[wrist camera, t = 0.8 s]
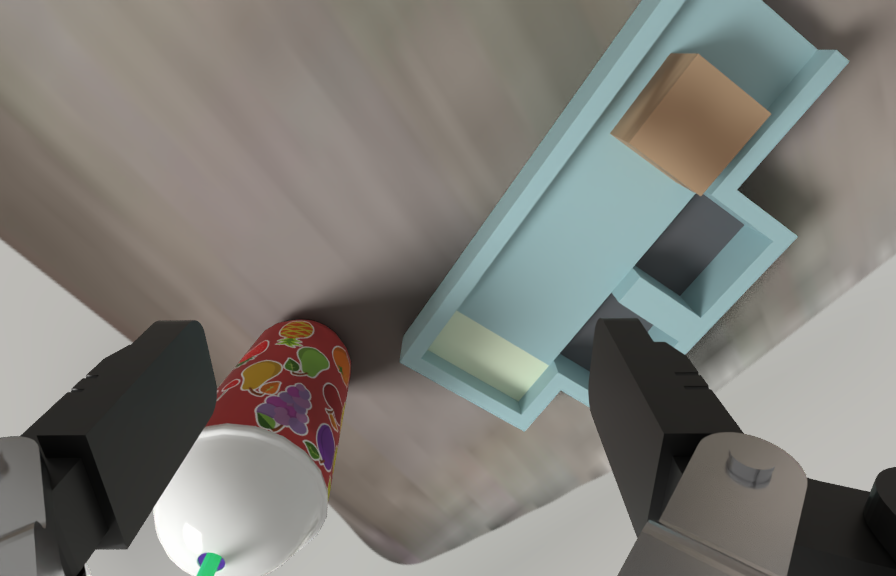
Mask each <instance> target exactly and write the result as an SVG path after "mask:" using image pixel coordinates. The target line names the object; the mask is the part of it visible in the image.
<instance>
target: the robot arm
mask: <svg viewBox="0 0 896 576" xmlns="http://www.w3.org/2000/svg"><path fill="white" fill-rule="evenodd" d="M588 396H589V406H590V411H591V414H592V417H593V420H594V423H595V425H596V428H597V431H598V433H599V436H600V439H601V441H602V444H603V447H604V450H605V452H606V455H607V458H608V460H609V463H610V466H611V468H612V471H613V474H614V476H615V479H616V482H617V484H618V487H619V490H620V492H621V495H622V498H623V501H624V503H625V506H626V508H627V511H628V514H629V517H630V519H631V522H632V525H633V527H634V530H635V533H636V535H637V538H638V539H637V541H636V542H635V544H634V546H633V548H632V550H631V552H630V553H629V555H628V557H627V559H626V561H625V563H624V565H623V567H622V568H621V570H620V572H619V574H618V576H896V467H893V468H888V469H886V470H883V471H882V472H880V473H879V474H878V476H877V478H876V479H875V482H874V484H873V487H872V489H871V492H868V491H862V490H858V489H853V488H849V487H844V486H840V485H835V484H830V483H826V482H821V481H817V480H813V479H809V478H807V477H806V474H805V472H804V470H803V468H802V467H801V466H800V464H799V463H798V462H797V461H796V460H795V459H794V458H793V457H792V456H791V455H789V454H788V453H787V452H786V451H784V450H783V449H781V448H779V447H778V446H776V445H774V444H772V443H770V442H768V441H766V440H763V439H761V438H758V437H755V436H751V435H747V434H744V433H743V432H742V430H740V428H739V426H738V425H737V424H736V422H735V421H734V420H733V418H732V417H731V416H730V414H729V413H728V411H727V410H726V409H725V407H724V406H723V405H722V403H721V402H720V401H719V399H718V398H717V397H716V395H715V394H714V393H713V391H712V390H711V389H709V388H708V384H707V383H706V382H705V380H704V379H703V378H702V376H701V375H698V371H697V370H696V368H695V367H694V366H693V364H692V363H691V361H690V360H689V359H688V357H687V356H686V355H684V354H683V353H681V352H680V351H678V350H677V349H675V348H674V347H672V346H671V345H669V344H668V343H666V342H654V341H653V340H652V338H651V337H650V335H649V334H648V332H647V331H646V329H645V328H644V326H643V325H642V323H641V322H640V320H639V319H638V318H599V319H598V320H597V322H596V326H595V331H594V340H593V349H592V358H591V366H590V375H589V385H588ZM216 400H217V386H216V381H215V377H214V372H213V368H212V363H211V359H210V355H209V350H208V346H207V341H206V337H205V333H204V329H203V327H202V325H201V324H200V323H199V322H198V321H195V320H180V321H156V322H155V323H153V324H152V325H151V326H150V327H149V328H148V329H147V330H146V331H145V332H144V333H143V334H142V335H141V336H140V337H139V338H138V339H137V340H136V341H134V342H133V343H132V344H131V345H128V346H127V347H125V348H123V349H121V350H119V351H117V352H116V353H114V354H112V355H110V356H108V357H106V358H105V359H103V360H102V361H101V362H100V363H99V364H98V365H97V366H96V367H95V368H94V369H92V370H91V371H90V372H89V373H88V374H87V375H86V378H83V379H82V380H81V381H79V382H78V383H77V384H76V385H75V386H74V387H73V388H72V391H71V392H68V393H66V394H65V395H64V396H63V397H62V398H61V399H60V400H59V401H58V402H57V403H56V404H54V405H53V406H52V407H51V408H50V409H49V410H48V411H47V412H46V413H45V414H44V415H43V416H41V417H40V418H39V419H38V420H37V421H36V422H35V423H34V424H33V425H32V426H31V427H29V428H28V429H27V430H26V431H25V432H24V433H23V434H22V435H21V436H10V437H2V438H0V576H92V575H91V572H90V569H89V567H88V564H87V560H88V559H89V558H90V556H91V554H92V553H93V552H94V551H95V549H128V547H129V546H130V544H131V542H132V541H133V539H134V538H135V536H136V535H137V533H138V531H139V530H140V528H141V527H142V525H143V524H144V522H145V521H146V519H147V517H148V516H149V514H150V513H151V511H152V510H153V508H154V506H155V505H156V503H157V502H158V500H159V498H160V497H161V495H162V494H163V492H164V491H165V489H166V487H167V486H168V484H169V483H170V481H171V480H172V478H173V476H174V475H175V473H176V472H177V470H178V469H179V467H180V465H181V464H182V462H183V461H184V459H185V458H186V456H187V454H188V453H189V451H190V450H191V448H192V446H193V445H194V443H195V442H196V440H197V439H198V437H199V435H200V434H201V432H202V431H203V429H204V428H205V426H206V424H207V423H208V421H209V420H210V418H211V416H212V415H213V412H214V409H215V406H216Z"/></svg>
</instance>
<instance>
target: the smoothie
mask: <svg viewBox="0 0 896 576" xmlns="http://www.w3.org/2000/svg"><path fill="white" fill-rule="evenodd" d="M350 375H351V360H350V357H349V354H348V351H347V348H346V347H345V346H344V344H343V343H342V341H341V340H340V338H339V337H338V336H337V334H336V333H335V332H334V331H332V330H331V329H330V328H328V327H327V326H325V325H324V324H321V323H318V322H316V321H313V320H303V319H298V320H291V321H286V322H281V323H277V324H275V325H274V326H272V327H270V328H268V329H267V330H265V331H264V332H263V333H262V335H261V336H260V337H259V338H258V339H257V340H256V342H255V343H254V344H253V345H252V347H251V348H250V349H249V350H248V352H247V353H246V354H245V355H244V357H243V358H242V359H241V360H240V361H239V363H238V364H237V365H236V366H235V368H234V369H233V370H232V371H231V373H230V374H229V375H228V376H227V377H226V379H225V380H224V381H223V382H222V384H221V385H220V386H219V387H218V389H217V400H216V406H215V409H214V412H213V415H212V416H211V418H210V420H209V421H208V423H207V424H206V426H205V428H204V429H203V431H202V432H201V434H200V435H199V437H198V439H197V440H196V442H195V443H194V445H193V446H192V448H191V450H190V451H189V453H188V454H187V456H186V458H185V459H184V461H183V462H182V464H181V465H180V467H179V469H178V470H177V472H176V473H175V475H174V476H173V478H172V480H171V481H170V483H169V484H168V486H167V487H166V489H165V491H164V492H163V494H162V495H161V497H160V498H159V500H158V502H157V503H156V505H155V506H154V508H153V514H154V522H155V528H156V533H157V537H158V539H159V540H160V542H161V544H162V546H163V548H164V550H165V552H166V553H167V555H168V557H169V558H170V559H171V560H172V561H173V562H174V563H175V564H176V565H177V566H178V567H179V568H180V569H182V570H183V571H185V572H186V573H188V574H190V575H191V576H264V575H266V574H268V573H271V572H272V571H274V570H276V569H277V568H279V567H280V566H282V565H283V564H284V563H285V562H286V561H287V560H288V559H289V558H291V557H292V556H293V555H294V554H295V553H296V552H297V551H299V550H301V549H302V548H303V547H304V546H305V545H306V544H307V543H309V542H310V541H311V540H312V539H313V538H314V537H316V536H317V535H318V533H319V531H320V529H321V527H322V525H323V523H324V521H325V519H326V517H327V505H328V499H329V494H330V488H331V482H332V477H333V471H334V465H335V460H336V454H337V448H338V443H339V437H340V431H341V426H342V420H343V414H344V409H345V403H346V397H347V392H348V386H349V380H350Z"/></svg>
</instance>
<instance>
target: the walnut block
mask: <svg viewBox="0 0 896 576" xmlns="http://www.w3.org/2000/svg"><path fill="white" fill-rule="evenodd" d="M770 115H771V113H770V112H769V111H768V110H766V109H765V108H764V107H763V106H762V105H760V104H759V103H758V102H757V101H755V100H754V99H753V98H752V97H751V96H749V95H748V94H747V93H746V92H745V91H743V90H742V89H741V88H740V87H738V86H737V85H736V84H735V83H734V82H732V81H731V80H730V79H729V78H727V77H726V76H725V75H724V74H723V73H721V72H720V71H719V70H718V69H717V68H715V67H714V66H713V65H712V64H710V63H709V62H708V61H707V60H706V59H704V58H703V57H702V56H701V55H699V54H698V53H670V54H669V56H668V57H667V58H666V60H665V61H664V62H663V64H662V65H661V66H660V68H659V69H658V70H657V72H656V73H655V74H654V76H653V77H652V78H651V80H650V81H649V82H648V83H647V85H646V86H645V87H644V89H643V90H642V91H641V93H640V94H639V95H638V97H637V98H636V99H635V101H634V102H633V103H632V105H631V106H630V107H629V109H628V110H627V111H626V113H625V114H624V115H623V117H622V118H621V119H620V121H619V122H618V123H617V125H616V126H615V127H614V129H613V130H612V131H611V133H610V134H611V135H612V136H614V137H615V138H616V139H618V140H619V141H621V142H622V143H623V144H625V145H626V146H627V147H629V148H630V149H631V150H633V151H634V152H635V153H637V154H638V155H639V156H641V157H642V158H643V159H645V160H646V161H648V162H649V163H650V164H652V165H653V166H654V167H656V168H657V169H658V170H660V171H661V172H662V173H664V174H665V175H666V176H668V177H669V178H671V179H672V180H673V181H675V182H676V183H678V184H680V185H682V186H683V187H685V188H687V189H689V190H690V191H692V192H694V193H696V194H698V195H699V196H702V195H703V193H704V192H705V191H706V190H707V189H708V188H709V186H710V185H711V184H712V183H713V182H714V181H715V179H716V178H717V177H718V176H719V175H720V174H721V172H722V171H723V170H724V169H725V168H726V167H727V165H728V164H729V163H730V162H731V161H732V159H733V158H734V157H735V156H736V155H737V154H738V152H739V151H740V150H741V149H742V148H743V147H744V145H745V144H746V143H747V142H748V141H749V140H750V138H751V137H752V136H753V135H754V134H755V133H756V131H757V130H758V129H759V128H760V127H761V126H762V124H763V123H764V122H765V121H766V120H767V119H768V117H769V116H770Z"/></svg>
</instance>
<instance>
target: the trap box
mask: <svg viewBox="0 0 896 576" xmlns="http://www.w3.org/2000/svg"><path fill="white" fill-rule="evenodd" d="M670 53H698V54H699V55H701V56H702V57H703V58H704V59H706V60H707V61H708V62H709V63H710V64H712V65H713V66H714V67H715V68H717V69H718V70H719V71H720V72H721V73H723V74H724V75H725V76H726V77H727V78H729V79H730V80H731V81H732V82H734V83H735V84H736V85H737V86H738V87H740V88H741V89H742V90H743V91H745V92H746V93H747V94H748V95H749V96H751V97H752V98H753V99H754V100H755V101H757V102H758V103H759V104H760V105H762V106H763V107H764V108H765V109H766V110H768V111H769V112H770V113H771V115H770V116H769V117H768V119H767V120H766V121H765V122H764V123H763V124H762V126H761V127H760V128H759V129H758V130H757V131H756V133H755V134H754V135H753V136H752V137H751V138H750V140H749V141H748V142H747V143H746V144H745V145H744V147H743V148H742V149H741V150H740V151H739V152H738V154H737V155H736V156H735V157H734V158H733V159H732V161H731V162H730V163H729V164H728V165H727V167H726V168H725V169H724V170H723V171H722V172H721V174H720V175H719V176H718V177H717V178H716V179H715V181H714V182H713V183H712V184H711V185H710V186H709V188H708V189H707V190H706V191H705V192H704V193H703V195H702V196H699V195H698V194H696V193H694V192H692V191H690V190H689V189H687V188H685V187H683V186H682V185H680V184H678V183H676V182H675V181H673V180H672V179H671V178H669V177H668V176H666V175H665V174H664V173H662V172H661V171H660V170H658V169H657V168H656V167H654V166H653V165H652V164H650V163H649V162H648V161H646V160H645V159H643V158H642V157H641V156H639V155H638V154H637V153H635V152H634V151H633V150H631V149H630V148H629V147H627V146H626V145H625V144H623V143H622V142H621V141H619V140H618V139H616V138H615V137H614V136H612V135H611V134H610V133H611V131H612V130H613V129H614V127H615V126H616V125H617V123H618V122H619V121H620V119H621V118H622V117H623V115H624V114H625V113H626V111H627V110H628V109H629V107H630V106H631V105H632V103H633V102H634V101H635V99H636V98H637V97H638V95H639V94H640V93H641V91H642V90H643V89H644V87H645V86H646V85H647V83H648V82H649V81H650V80H651V78H652V77H653V76H654V74H655V73H656V72H657V70H658V69H659V68H660V66H661V65H662V64H663V62H664V61H665V60H666V58H667V57H668V56H669V54H670ZM849 62H850V61H848V60H847V59H846V58H845V57H844V56H843V55H842V54H841V53H839V52H838V51H837V50H817V49H816V48H815V47H814V46H813V45H812V44H811V43H810V42H808V41H807V40H806V39H805V38H804V37H803V36H802V35H800V34H799V33H798V32H797V31H796V30H795V29H794V28H793V27H791V26H790V25H789V24H788V23H787V22H786V21H785V20H783V19H782V18H781V17H780V16H779V15H778V14H777V13H776V12H774V11H773V10H772V9H771V8H770V7H769V6H768V5H766V4H765V3H764V2H763V1H762V0H642V1H641V2H640V4H639V5H638V7H637V8H636V10H635V11H634V12H633V14H632V15H631V17H630V18H629V19H628V21H627V22H626V24H625V25H624V26H623V28H622V29H621V31H620V32H619V33H618V35H617V36H616V38H615V39H614V40H613V42H612V43H611V45H610V46H609V48H608V49H607V50H606V52H605V53H604V55H603V56H602V57H601V59H600V60H599V62H598V63H597V64H596V66H595V67H594V69H593V70H592V71H591V73H590V74H589V76H588V77H587V78H586V80H585V81H584V83H583V84H582V85H581V87H580V88H579V90H578V91H577V93H576V94H575V95H574V97H573V98H572V100H571V101H570V102H569V104H568V105H567V107H566V108H565V109H564V111H563V112H562V114H561V115H560V116H559V118H558V119H557V121H556V122H555V123H554V125H553V126H552V128H551V129H550V130H549V132H548V133H547V135H546V136H545V138H544V139H543V140H542V142H541V143H540V145H539V146H538V147H537V149H536V150H535V152H534V153H533V154H532V156H531V157H530V159H529V160H528V161H527V163H526V164H525V166H524V167H523V168H522V170H521V171H520V173H519V174H518V176H517V177H516V178H515V180H514V181H513V183H512V184H511V185H510V187H509V188H508V190H507V191H506V192H505V194H504V195H503V197H502V198H501V199H500V201H499V202H498V204H497V205H496V206H495V208H494V209H493V211H492V212H491V213H490V215H489V216H488V218H487V219H486V221H485V222H484V223H483V225H482V226H481V228H480V229H479V230H478V232H477V233H476V235H475V236H474V237H473V239H472V240H471V242H470V243H469V244H468V246H467V247H466V249H465V250H464V251H463V253H462V254H461V256H460V257H459V258H458V260H457V261H456V263H455V264H454V266H453V267H452V268H451V270H450V271H449V273H448V274H447V275H446V277H445V278H444V280H443V281H442V282H441V284H440V285H439V287H438V288H437V289H436V291H435V292H434V294H433V295H432V296H431V298H430V299H429V301H428V302H427V304H426V305H425V306H424V308H423V309H422V311H421V312H420V313H419V315H418V316H417V318H416V319H415V320H414V322H413V323H412V325H411V326H410V327H409V329H408V330H407V332H406V333H405V334H404V336H403V341H402V348H401V355H400V363H402V364H403V365H405V366H407V367H409V368H411V369H412V370H414V371H416V372H418V373H420V374H421V375H423V376H425V377H427V378H429V379H430V380H432V381H434V382H436V383H438V384H439V385H441V386H443V387H445V388H447V389H448V390H450V391H452V392H454V393H456V394H457V395H459V396H461V397H463V398H465V399H467V400H468V401H470V402H472V403H474V404H476V405H477V406H479V407H481V408H483V409H485V410H486V411H488V412H490V413H492V414H494V415H495V416H497V417H499V418H501V419H503V420H504V421H506V422H508V423H510V424H512V425H513V426H515V427H517V428H519V429H521V430H522V431H525V430H526V429H527V428H528V427H529V426H530V425H531V424H532V422H533V421H534V420H535V419H536V418H537V417H538V416H539V414H540V413H541V412H542V411H543V410H544V409H545V408H546V406H547V405H548V404H549V403H550V402H551V401H552V400H553V398H554V397H555V396H556V395H557V394H558V393H559V392H560V391H563V392H564V393H566V394H568V395H569V396H571V397H573V398H575V399H576V400H578V401H580V402H581V403H583V404H585V405H587V406H588V407H590V406H589V396H588V385H589V375H590V366H591V358H592V349H593V340H594V331H595V326H596V322H597V320H598V319H599V318H638V319H639V320H640V322H641V323H642V325H643V326H644V328H645V329H646V331H647V332H648V334H649V335H650V337H651V338H652V340H653V341H654V342H666V343H668V344H669V345H671V346H672V347H674V348H675V349H677V350H678V351H680V352H681V353H683V354H684V355H685V354H686V353H687V352H688V351H689V350H690V349H691V348H692V347H693V346H694V345H695V344H696V343H697V342H698V341H699V340H700V339H701V338H702V336H703V335H704V334H705V333H706V332H707V331H708V330H709V329H710V328H711V327H712V326H713V325H714V324H715V323H716V322H717V321H718V320H719V319H720V318H721V317H722V316H723V315H724V313H725V312H726V311H727V310H728V309H729V308H730V307H731V306H732V305H733V304H734V303H735V302H736V301H737V300H738V299H739V298H740V297H741V296H742V295H743V294H744V293H745V292H746V290H747V289H748V288H749V287H750V286H751V285H752V284H753V283H754V282H755V281H756V280H757V279H758V278H759V277H760V276H761V275H762V274H763V273H764V272H765V271H766V270H767V268H768V267H769V266H770V265H771V264H772V263H773V262H774V261H775V260H776V259H777V258H778V257H779V256H780V255H781V254H782V253H783V252H784V251H785V250H786V249H787V248H788V247H789V245H790V244H791V243H792V242H793V241H794V240H795V239H796V238H797V237H798V236H797V235H795V234H794V233H793V232H791V231H790V230H789V229H787V228H786V227H785V226H784V225H782V224H781V223H780V222H778V221H777V220H776V219H774V218H773V217H772V216H770V215H769V214H768V213H766V212H765V211H764V210H762V209H761V208H760V207H759V206H757V205H756V204H755V203H753V202H752V201H751V200H749V199H748V198H747V197H745V196H744V195H743V194H741V193H740V192H739V191H738V190H737V189H738V188H739V187H740V186H741V184H742V183H743V182H744V181H745V180H746V179H747V178H748V176H749V175H750V174H751V173H752V172H753V171H754V170H755V169H756V167H757V166H758V165H759V164H760V163H761V162H762V161H763V159H764V158H765V157H766V156H767V155H768V154H769V153H770V151H771V150H772V149H773V148H774V147H775V146H776V145H777V143H778V142H779V141H780V140H781V139H782V138H783V137H784V136H785V134H786V133H787V132H788V131H789V130H790V129H791V128H792V126H793V125H794V124H795V123H796V122H797V121H798V120H799V118H800V117H801V116H802V115H803V114H804V113H805V112H806V110H807V109H808V108H809V107H810V106H811V105H812V104H813V103H814V101H815V100H816V99H817V98H818V97H819V96H820V95H821V93H822V92H823V91H824V90H825V89H826V88H827V87H828V85H829V84H830V83H831V82H832V81H833V80H834V79H835V77H836V76H837V75H838V74H839V73H840V72H841V71H842V69H843V68H844V67H845V66H846V65H847V64H848V63H849Z"/></svg>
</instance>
